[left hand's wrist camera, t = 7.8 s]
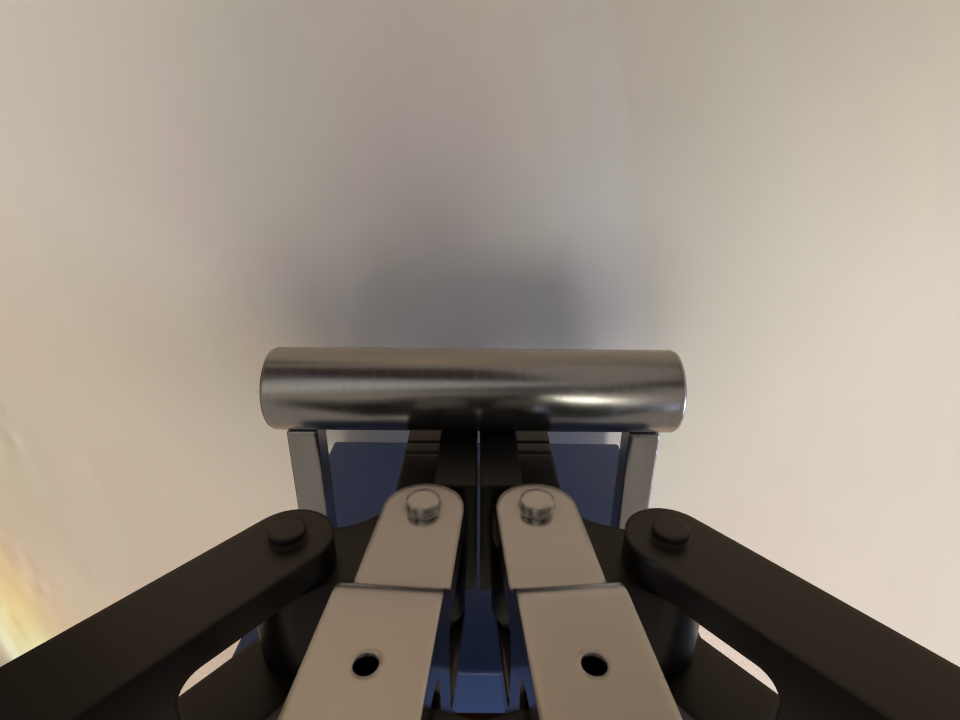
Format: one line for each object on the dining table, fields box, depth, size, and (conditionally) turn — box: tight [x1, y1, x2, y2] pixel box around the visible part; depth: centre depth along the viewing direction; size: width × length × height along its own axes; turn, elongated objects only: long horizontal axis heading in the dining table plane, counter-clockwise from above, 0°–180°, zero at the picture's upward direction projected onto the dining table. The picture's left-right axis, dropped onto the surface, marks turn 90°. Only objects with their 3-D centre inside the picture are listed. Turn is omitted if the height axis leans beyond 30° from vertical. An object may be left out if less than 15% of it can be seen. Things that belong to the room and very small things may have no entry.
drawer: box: [233, 347, 701, 720], centre depth 16 cm, size 23×9×8 cm, turn 0°
